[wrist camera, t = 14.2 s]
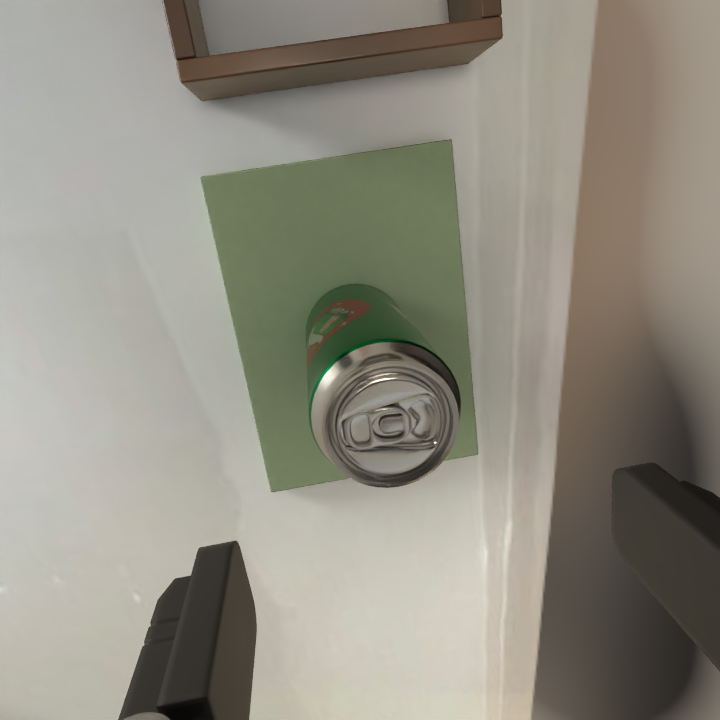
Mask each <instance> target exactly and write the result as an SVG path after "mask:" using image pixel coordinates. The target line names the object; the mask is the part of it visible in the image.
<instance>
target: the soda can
mask: <svg viewBox="0 0 720 720" xmlns="http://www.w3.org/2000/svg"><path fill="white" fill-rule="evenodd" d="M305 334H306V360H307V387H308V413H309V425H310V429H311V433H312V436H313V438H314V441H315V443H316V445H317V447H318V448H319V450H320V451H321V453H322V454H323V455H324V456H325V458H326V459H327V460H328V461H329V462H330V463H331V464H333V465H334V466H335V467H337V468H338V469H339V470H341V471H342V472H343V473H344V474H346V475H347V476H348V477H350V478H352V479H354V480H355V481H357V482H360V483H363V484H365V485H369V486H374V487H386V488H389V487H399V486H403V485H407V484H410V483H413V482H415V481H418V480H420V479H421V478H423V477H425V476H427V475H428V474H430V473H431V472H432V471H434V470H435V469H436V468H437V467H438V466H439V465H440V464H441V463H442V462H443V461H444V459H445V458H446V457H447V455H448V454H449V452H450V450H451V448H452V447H453V445H454V442H455V439H456V436H457V431H458V426H459V420H460V415H461V397H460V391H459V387H458V384H457V381H456V379H455V377H454V375H453V373H452V372H451V370H450V368H449V367H448V366H447V365H446V363H445V362H444V361H443V360H442V358H441V357H440V356H439V355H438V354H437V352H436V351H435V350H434V349H433V348H432V346H431V345H430V344H429V343H428V342H427V340H426V339H425V338H424V337H423V336H422V334H421V333H420V332H419V331H418V330H417V328H416V327H415V326H414V325H413V324H412V322H411V321H410V320H409V319H408V317H407V316H406V315H405V314H404V313H403V311H402V310H401V309H400V308H399V307H398V305H397V304H396V303H395V302H394V301H393V299H392V298H391V297H389V296H388V295H387V294H386V293H384V292H383V291H381V290H380V289H377V288H375V287H373V286H369V285H365V284H348V285H343V286H340V287H337V288H335V289H333V290H331V291H329V292H328V293H326V294H325V295H324V296H322V297H321V298H320V299H319V300H318V302H317V303H316V304H315V305H314V307H313V308H312V310H311V312H310V314H309V317H308V320H307V324H306V333H305Z"/></svg>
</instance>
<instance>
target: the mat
mask: <svg viewBox="0 0 720 720" xmlns="http://www.w3.org/2000/svg"><path fill="white" fill-rule="evenodd" d="M200 179H201V183H202V188H203V192H204V197H205V201H206V205H207V210H208V214H209V219H210V223H211V228H212V232H213V236H214V241H215V245H216V250H217V254H218V259H219V263H220V268H221V272H222V276H223V281H224V285H225V290H226V294H227V299H228V303H229V307H230V312H231V316H232V321H233V325H234V330H235V334H236V338H237V343H238V347H239V352H240V356H241V361H242V365H243V370H244V374H245V378H246V383H247V387H248V392H249V396H250V401H251V405H252V409H253V414H254V418H255V423H256V427H257V432H258V436H259V440H260V445H261V449H262V454H263V458H264V463H265V467H266V472H267V476H268V480H269V485H270V489H271V492H276V491H282V490H287V489H292V488H298V487H303V486H309V485H314V484H320V483H325V482H331V481H336V480H341V479H347V478H350V477H348V476H347V475H346V474H344V473H343V472H342V471H341V470H339V469H338V468H337V467H335V466H334V465H333V464H331V463H330V462H329V461H328V460H327V459H326V458H325V456H324V455H323V454H322V453H321V451H320V450H319V448H318V447H317V445H316V443H315V441H314V438H313V436H312V433H311V429H310V425H309V413H308V387H307V360H306V334H305V333H306V324H307V320H308V317H309V314H310V312H311V310H312V308H313V307H314V305H315V304H316V303H317V302H318V300H319V299H320V298H321V297H322V296H324V295H325V294H326V293H328V292H329V291H331V290H333V289H335V288H337V287H340V286H343V285H348V284H365V285H369V286H373V287H375V288H377V289H380V290H381V291H383V292H384V293H386V294H387V295H388V296H389V297H391V298H392V299H393V301H394V302H395V303H396V304H397V305H398V307H399V308H400V309H401V310H402V311H403V313H404V314H405V315H406V316H407V317H408V319H409V320H410V321H411V322H412V324H413V325H414V326H415V327H416V328H417V330H418V331H419V332H420V333H421V334H422V336H423V337H424V338H425V339H426V340H427V342H428V343H429V344H430V345H431V346H432V348H433V349H434V350H435V351H436V352H437V354H438V355H439V356H440V357H441V358H442V360H443V361H444V362H445V363H446V365H447V366H448V367H449V368H450V370H451V372H452V373H453V375H454V377H455V379H456V381H457V384H458V387H459V391H460V397H461V415H460V420H459V426H458V431H457V436H456V439H455V442H454V445H453V447H452V448H451V450H450V452H449V454H448V455H447V457H446V458H445V459H444V461H445V460H450V459H456V458H461V457H467V456H472V455H477V454H478V445H477V434H476V422H475V410H474V398H473V386H472V374H471V363H470V351H469V339H468V327H467V315H466V303H465V291H464V280H463V268H462V256H461V244H460V232H459V220H458V209H457V197H456V185H455V173H454V161H453V149H452V140H451V139H450V140H443V141H437V142H430V143H423V144H417V145H410V146H403V147H397V148H390V149H383V150H377V151H370V152H363V153H356V154H350V155H343V156H336V157H330V158H323V159H316V160H310V161H303V162H296V163H290V164H283V165H276V166H270V167H263V168H256V169H249V170H243V171H236V172H229V173H223V174H216V175H209V176H203V177H200Z"/></svg>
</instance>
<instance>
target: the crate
mask: <svg viewBox="0 0 720 720" xmlns="http://www.w3.org/2000/svg"><path fill="white" fill-rule="evenodd" d="M162 2H163V7H164V11H165V15H166V20H167V24H168V29H169V33H170V38H171V42H172V47H173V51H174V56H175V58H176V60H177V62H176V64H177V69H178V73H179V78H180V81H181V83H182V84H183V85H184V86H185V87H187V88H188V89H189V90H190V91H191V92H192V93H193V94H194V95H196V96H197V97H198V98H199V99H200V100H201V101H206V100H213V99H220V98H227V97H234V96H241V95H248V94H255V93H262V92H270V91H277V90H284V89H291V88H298V87H305V86H312V85H319V84H326V83H333V82H340V81H347V80H354V79H361V78H368V77H375V76H382V75H389V74H397V73H404V72H411V71H418V70H425V69H432V68H439V67H446V66H453V65H460V64H467V63H469V62H471V61H472V60H473V59H475V58H476V57H477V56H479V55H480V54H481V53H483V52H484V51H485V50H487V49H488V48H489V47H491V46H492V45H494V44H495V43H496V42H498V41H499V40H500V39H502V36H503V34H502V18H501V14H502V10H501V0H448V7H449V19H450V23H445V24H437V25H430V26H423V27H415V28H408V29H401V30H394V31H386V32H379V33H372V34H364V35H357V36H350V37H343V38H335V39H328V40H321V41H313V42H306V43H299V44H291V45H284V46H277V47H270V48H262V49H255V50H248V51H240V52H233V53H226V54H219V55H211V56H209V52H208V47H207V42H206V38H205V33H204V28H203V23H202V18H201V13H200V8H199V4H198V0H162Z"/></svg>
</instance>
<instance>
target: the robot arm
mask: <svg viewBox="0 0 720 720" xmlns="http://www.w3.org/2000/svg"><path fill="white" fill-rule="evenodd" d="M612 536H613V540H614V544H615V546H616V548H617V551H618V553H619V555H620V556H621V558H622V559H623V561H624V562H625V563H626V564H627V565H628V566H629V568H630V569H631V570H632V571H633V572H634V573H635V574H636V576H637V577H638V578H639V579H640V580H641V582H642V583H643V584H644V585H645V586H646V587H647V588H648V590H649V591H650V592H651V593H652V594H653V595H654V596H655V598H656V599H657V600H658V601H659V602H660V603H661V604H662V606H663V607H664V608H665V609H666V610H667V611H668V612H669V614H670V615H671V616H672V617H673V618H674V619H675V620H676V622H677V623H678V624H679V625H680V626H681V627H682V629H683V630H684V631H685V632H686V633H687V634H688V635H689V636H690V638H691V639H692V640H693V641H694V642H695V643H696V645H697V646H698V647H699V648H700V649H701V650H702V651H703V653H704V654H705V655H706V656H707V657H708V658H709V659H710V661H711V662H712V663H713V664H714V665H715V666H716V668H717V669H718V670H719V671H720V498H719V497H718V496H716V495H715V494H714V493H712V492H710V491H707V490H705V489H703V488H700V487H698V486H696V485H693V484H691V483H688V482H686V481H682V482H679V481H678V480H677V479H675V478H674V477H673V476H671V475H670V474H669V473H668V472H666V471H665V470H663V469H662V468H661V467H660V466H659V465H657V464H655V463H646V464H640V465H635V466H630V467H624V468H620V469H616V470H615V471H614V473H613V477H612ZM150 623H151V627H149V628H148V631H147V635H146V638H145V641H144V643H145V645H144V646H143V647H142V650H141V653H140V656H139V659H138V662H137V665H136V668H135V671H134V674H133V677H132V680H131V683H130V686H129V689H128V692H127V695H126V698H125V701H124V704H123V707H122V710H121V713H120V716H119V719H118V720H249V714H250V703H251V691H252V679H253V668H254V656H255V645H256V632H257V625H256V612H255V605H254V600H253V596H252V592H251V588H250V584H249V580H248V576H247V573H246V569H245V565H244V561H243V557H242V553H241V549H240V546H239V544H238V542H237V541H232V542H227V543H221V544H216V545H211V546H206V547H200V548H199V550H198V552H197V555H196V559H195V563H194V567H193V570H192V574H191V576H186V577H181V578H176V579H174V580H173V582H172V583H171V584H170V585H169V587H168V588H167V589H166V590H165V592H164V593H163V594H162V595H161V597H160V598H159V599H158V601H157V604H156V607H155V610H154V613H153V616H152V619H151V622H150Z"/></svg>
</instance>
